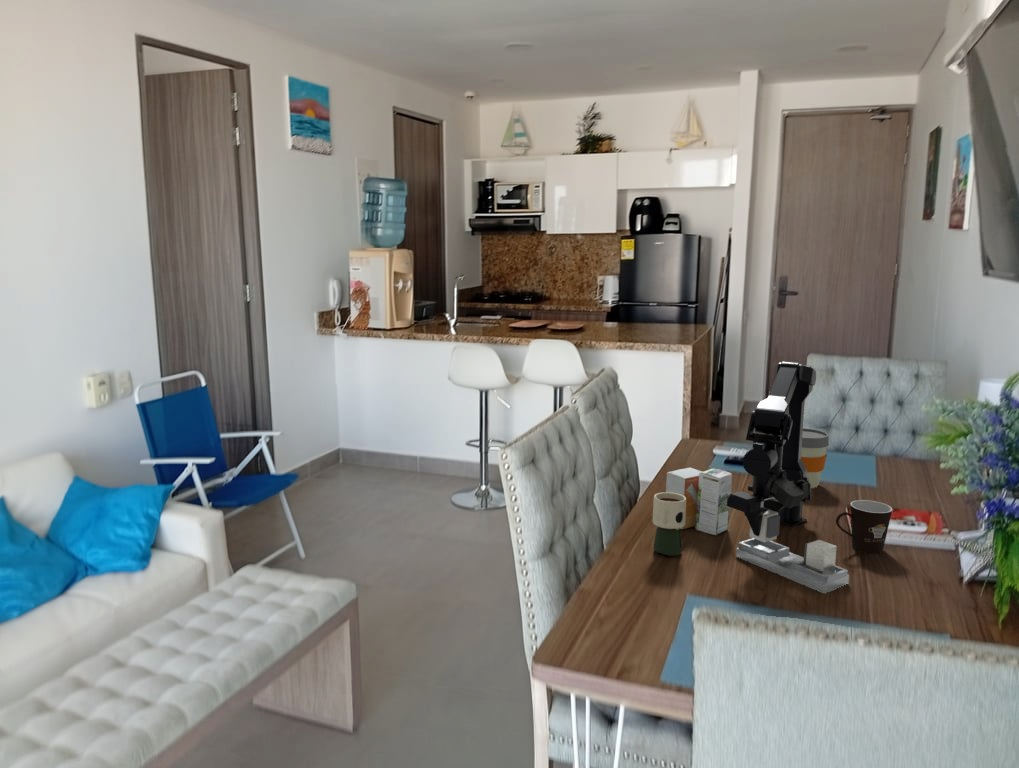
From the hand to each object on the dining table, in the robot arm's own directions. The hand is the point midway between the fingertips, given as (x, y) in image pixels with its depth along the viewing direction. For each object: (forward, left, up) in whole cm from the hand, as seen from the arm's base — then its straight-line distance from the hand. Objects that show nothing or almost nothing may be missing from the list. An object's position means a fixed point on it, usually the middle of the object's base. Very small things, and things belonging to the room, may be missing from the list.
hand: (763, 533), depth 170 cm
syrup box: (-4, -18, -6) cm, 19 cm away
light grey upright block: (0, 0, -1) cm, 1 cm away
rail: (0, +7, -6) cm, 9 cm away
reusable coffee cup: (-54, -29, -6) cm, 61 cm away
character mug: (+15, -14, -6) cm, 21 cm away
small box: (-2, -25, -6) cm, 25 cm away
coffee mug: (-24, +8, -6) cm, 26 cm away
